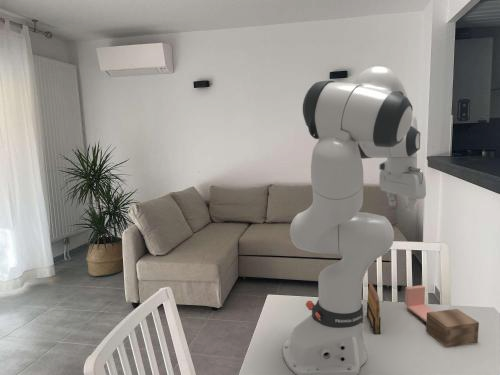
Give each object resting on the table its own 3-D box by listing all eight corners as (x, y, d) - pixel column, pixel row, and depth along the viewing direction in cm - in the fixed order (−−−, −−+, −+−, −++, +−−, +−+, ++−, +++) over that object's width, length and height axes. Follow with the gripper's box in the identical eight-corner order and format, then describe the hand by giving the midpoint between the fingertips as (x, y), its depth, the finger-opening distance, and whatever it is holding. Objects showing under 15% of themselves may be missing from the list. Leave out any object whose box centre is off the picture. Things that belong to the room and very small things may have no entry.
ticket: (432, 327, 103) (433, 306, 102) (404, 305, 116) (405, 287, 115) (450, 324, 104) (451, 303, 103) (421, 303, 117) (421, 285, 116)
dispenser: (445, 347, 95) (446, 326, 94) (426, 331, 103) (426, 312, 102) (477, 342, 96) (478, 322, 96) (456, 327, 104) (457, 308, 103)
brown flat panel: (366, 315, 113) (367, 280, 111) (372, 316, 113) (373, 280, 111) (373, 334, 102) (374, 295, 101) (380, 334, 102) (381, 296, 100)
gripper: (432, 168, 102) (430, 214, 104) (392, 163, 122) (391, 202, 124) (413, 169, 101) (411, 215, 103) (376, 164, 121) (375, 203, 123)
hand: (400, 208), depth 114 cm, fingers open, 8 cm apart
